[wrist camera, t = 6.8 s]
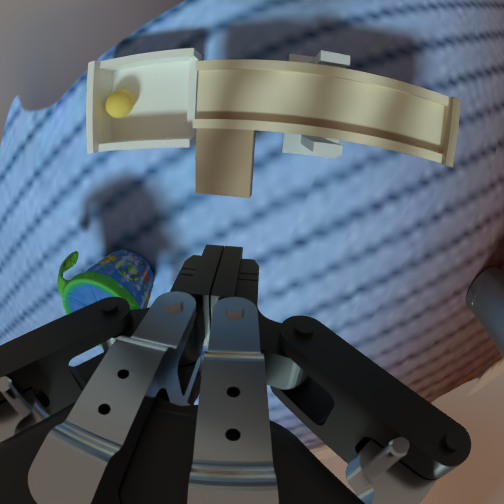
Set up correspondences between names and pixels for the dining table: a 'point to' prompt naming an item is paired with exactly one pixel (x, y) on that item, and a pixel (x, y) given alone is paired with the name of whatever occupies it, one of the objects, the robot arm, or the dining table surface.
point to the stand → (313, 143)
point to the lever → (309, 115)
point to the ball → (119, 103)
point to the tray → (144, 101)
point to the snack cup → (107, 281)
